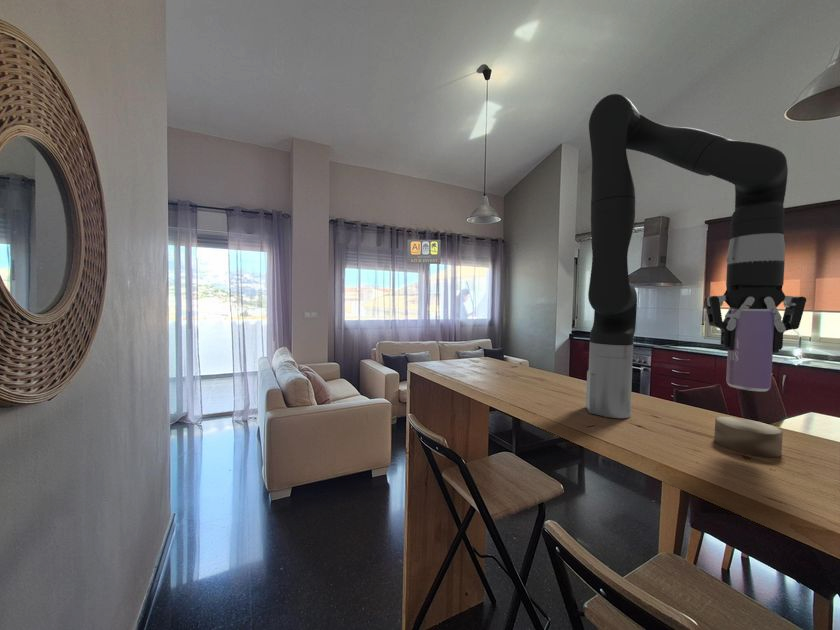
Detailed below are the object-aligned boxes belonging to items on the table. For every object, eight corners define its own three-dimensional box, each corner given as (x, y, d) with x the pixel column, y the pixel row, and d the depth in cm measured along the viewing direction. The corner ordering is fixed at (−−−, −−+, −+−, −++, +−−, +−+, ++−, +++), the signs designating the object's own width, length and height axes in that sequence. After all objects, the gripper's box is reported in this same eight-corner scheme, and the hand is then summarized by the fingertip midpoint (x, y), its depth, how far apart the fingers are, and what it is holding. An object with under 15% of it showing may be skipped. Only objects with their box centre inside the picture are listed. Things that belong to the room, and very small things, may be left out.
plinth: (729, 452, 59) (730, 429, 59) (705, 434, 68) (706, 414, 68) (795, 461, 56) (796, 437, 56) (761, 441, 65) (762, 420, 64)
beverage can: (780, 393, 58) (784, 309, 58) (741, 390, 59) (745, 308, 59) (753, 385, 64) (757, 309, 64) (718, 383, 65) (721, 308, 65)
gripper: (716, 260, 60) (712, 351, 60) (823, 257, 55) (818, 356, 55) (698, 265, 67) (694, 346, 67) (791, 263, 62) (786, 351, 62)
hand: (750, 350), depth 61 cm, fingers closed on beverage can, 5 cm apart
